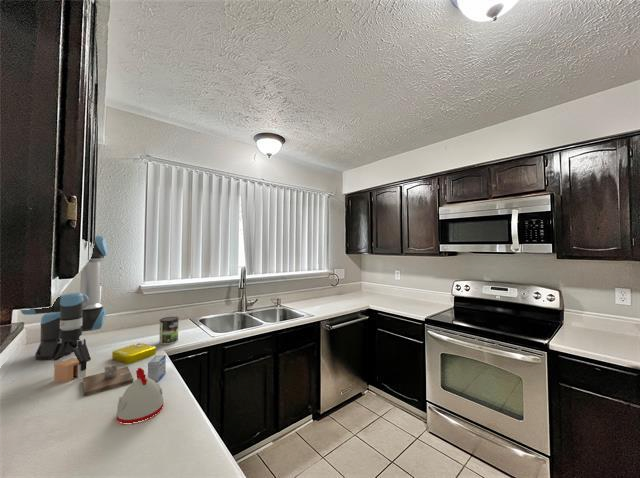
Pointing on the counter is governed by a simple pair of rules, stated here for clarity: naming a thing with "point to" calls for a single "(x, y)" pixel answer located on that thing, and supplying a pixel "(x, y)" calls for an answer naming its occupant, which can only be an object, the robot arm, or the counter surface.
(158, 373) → the medicine box
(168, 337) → the coffee can
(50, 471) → the counter surface
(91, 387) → the board
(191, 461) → the counter surface
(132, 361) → the element tile
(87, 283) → the robot arm
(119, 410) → the chicken dome
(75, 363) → the orange cube
